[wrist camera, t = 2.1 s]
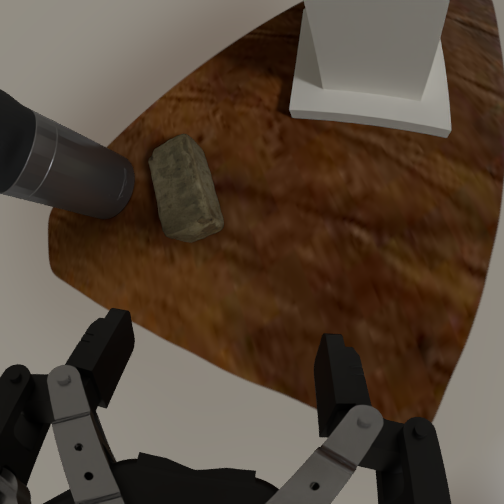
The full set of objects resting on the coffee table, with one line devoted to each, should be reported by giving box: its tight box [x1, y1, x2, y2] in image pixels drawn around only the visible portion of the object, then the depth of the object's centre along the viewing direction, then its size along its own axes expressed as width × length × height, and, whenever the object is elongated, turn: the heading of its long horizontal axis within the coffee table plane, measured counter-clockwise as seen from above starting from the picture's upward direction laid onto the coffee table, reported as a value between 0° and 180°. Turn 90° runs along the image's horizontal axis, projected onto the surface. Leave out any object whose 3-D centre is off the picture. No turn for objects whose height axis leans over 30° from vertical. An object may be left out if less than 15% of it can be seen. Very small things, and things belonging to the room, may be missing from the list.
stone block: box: [148, 134, 224, 242], centre depth 35 cm, size 6×12×5 cm, turn 19°
